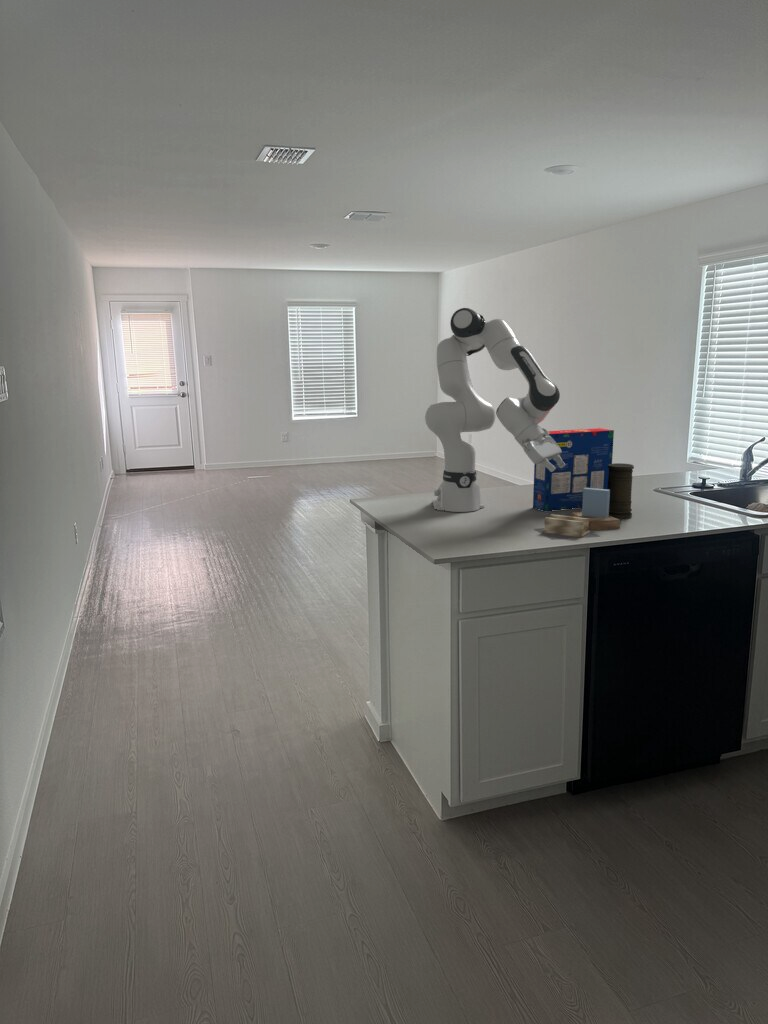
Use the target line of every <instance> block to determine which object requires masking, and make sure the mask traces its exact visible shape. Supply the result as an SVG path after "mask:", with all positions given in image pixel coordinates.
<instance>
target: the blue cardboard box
mask: <svg viewBox="0 0 768 1024" xmlns="http://www.w3.org/2000/svg"><path fill="white" fill-rule="evenodd" d="M547 431H548V432H549V433H550V434H549V436H551V437H552V438H553V439H554V441H555V442H556V443H557V444H558V446H559V447H560V448H561V451H562V453H561V454H560V457H561V459H562V461H563V462H564V463H565V466H564V467H563V468H560V467H559V466H558V464H557V462H556V461H554V460H553V459H551V460H549V462H550V463H551V464H552V465H554V466H555V467H556V470H554V471H553V472H550V470H549V469H548V468H546V467H545V466H543V465H542V464H541V463H540V464H537V465H536V464H534V463H533V464H534V465H533V466H534V467H533V468H534V469H533V494H532V495H533V498H532V500H533V501H532V509H535V508H536V510H538V509H540V510H539V511H541V510H543V511H542V512H544V511H551V512H553V511H552V510H561V509H570V510H573V509H572V508H580V509H582V504H583V489H584V488H597V489H608V476H609V468H608V465H609V464H613V455H614V454H613V453H614V435H615V429H608V428H600V427H598V428H581V429H567V430H566V429H564V430H563V429H561V430H547ZM561 511H562V510H561Z"/></svg>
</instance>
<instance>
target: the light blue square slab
mask: <svg viewBox="0 0 768 1024" xmlns="http://www.w3.org/2000/svg"><path fill="white" fill-rule="evenodd" d="M609 501H610V490H608V489H597V488H584V489H583V504H582V508H581V512H582V516H590V517H599V518H608V517H609Z"/></svg>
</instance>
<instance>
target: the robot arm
mask: <svg viewBox="0 0 768 1024" xmlns="http://www.w3.org/2000/svg"><path fill="white" fill-rule="evenodd" d="M449 324H450V330H451V332H452V333H453V334H452V335H451V337H450V336H449V338H444V339H443V340H441V341H440V342H439V343H438V344H437V347H436V367H437V374H438V375H437V376H438V382H439V388H440V390H441V391H442V393H443V394H444V395H447V396H448V397H450V398H452V399H453V400H454V401H441V402H437V403H434V404H431V405H429V407H428V408H427V410H426V412H425V416H424V417H425V418H424V420H425V424H426V426H427V428H428V429H429V430H430V431H431V433H434V435H435V436H437V438H438V439H439V441H440V443H441V445H442V448H443V455H444V470H443V472H442V482H441V483H440V484H439V486H438V488H437V489H434V496H435V497H437V498H435V499H432V500H431V504H432V503H433V504H432V506H434V507H433V509H434V510H435V509H437V510H436V511H444V510H445V511H444V512H452V513H468V512H474V511H478V510H480V509H483V508H485V504H484V503H481V487H480V485H479V483H477V470H476V449H475V447H474V446H472V444H469V443H468V442H466V441H464V440H463V439H462V436H461V433H478V432H482V431H486V430H487V431H488V430H490V429H491V428H492V427H493V426H494V423H495V422H496V418H497V419H498V421H499V422H500V423H501V425H502V426H503V427H504V428H505V430H507V431H508V432H509V433H510V434H511V435H512V436H513V437H514V440H515V441H516V442H517V443H518V444H519V445H520V446H521V447H522V449H523V451H524V454H525V455H526V456H527V457H528V458H529V459H530V461H531V462H532V463H533V464H536V465H537V464H540V463H541V464H542V465H543V466H545V467H546V468H548V469H549V470H550V472H553V471H554V470H556V467H555V466H554V465H552V464H551V463H550V462H549V460H551V459H553V460H554V461H556V462H557V464H558V466H559V467H560V468H563V467H564V466H565V463H564V462H563V461H562V459H561V457H560V454H561V453H562V451H561V448H560V447H559V446H558V444H557V443H556V442H555V441H554V439H553V438H552V437H551V436H549V434H550V433H549V432H548V431H549V430H547V429H546V428H543V427H542V426H540V425H539V424H540V423H542V422H543V421H544V420H545V419H546V417H547V416H548V415H549V414H550V411H551V410H552V409H553V408H554V407H555V406H556V404H557V403H558V402H559V400H560V397H561V396H560V389H559V388H558V386H557V385H556V384H555V383H554V382H553V381H552V380H551V379H550V378H549V377H548V376H547V375H546V373H545V372H544V371H543V369H542V368H541V366H540V365H539V363H538V362H537V360H536V359H535V357H534V356H533V355H532V353H531V352H530V351H529V350H528V348H526V347H525V346H523V345H522V344H521V343H520V341H519V339H518V337H517V335H516V333H515V332H514V331H513V330H512V328H511V327H510V326H509V324H508V323H507V322H506V321H505V320H504V319H502V318H495V319H492V320H489V321H486V319H485V317H484V316H483V315H482V314H480V313H478V312H477V311H475V310H474V309H471V308H469V307H462V308H459V309H457V310H456V311H454V313H453V314H452V315H451V318H450V323H449ZM484 348H486V350H487V352H488V354H489V356H490V358H491V360H492V362H493V363H494V365H495V367H497V369H499V370H502V371H510V370H515V369H518V371H520V373H521V374H522V376H523V377H524V379H525V381H526V382H527V383H528V391H527V394H526V395H525V396H523V397H516V398H515V397H511V396H507V397H506V398H505V399H503V400H502V401H501V403H500V404H499V405H498V407H497V409H496V410H495V408H494V406H493V405H492V404H491V403H490V402H488V401H486V400H485V398H484V399H483V398H482V397H481V395H479V393H478V392H477V391H476V389H475V387H474V385H473V383H472V380H471V375H470V369H469V365H468V360H467V357H469V356H471V355H473V354H476V353H479V352H481V351H483V350H484Z"/></svg>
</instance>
